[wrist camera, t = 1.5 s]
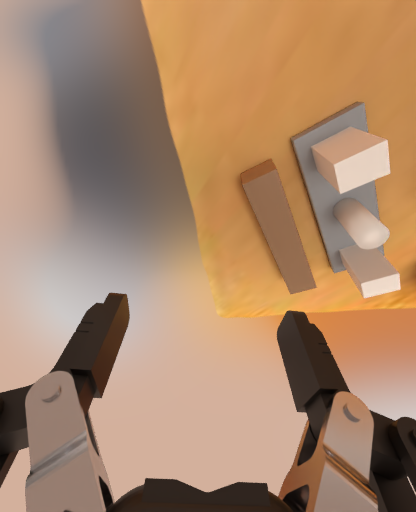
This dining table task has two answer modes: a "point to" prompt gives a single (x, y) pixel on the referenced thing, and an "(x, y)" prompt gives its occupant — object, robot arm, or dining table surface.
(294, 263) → the frame bar
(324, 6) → the dining table surface
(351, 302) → the dining table surface
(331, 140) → the stand
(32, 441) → the robot arm
